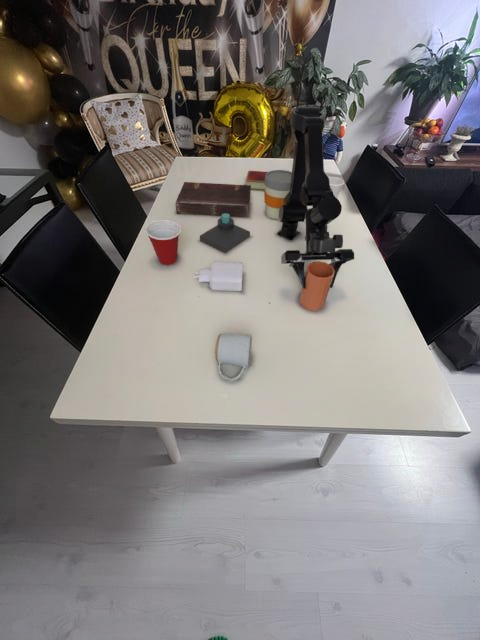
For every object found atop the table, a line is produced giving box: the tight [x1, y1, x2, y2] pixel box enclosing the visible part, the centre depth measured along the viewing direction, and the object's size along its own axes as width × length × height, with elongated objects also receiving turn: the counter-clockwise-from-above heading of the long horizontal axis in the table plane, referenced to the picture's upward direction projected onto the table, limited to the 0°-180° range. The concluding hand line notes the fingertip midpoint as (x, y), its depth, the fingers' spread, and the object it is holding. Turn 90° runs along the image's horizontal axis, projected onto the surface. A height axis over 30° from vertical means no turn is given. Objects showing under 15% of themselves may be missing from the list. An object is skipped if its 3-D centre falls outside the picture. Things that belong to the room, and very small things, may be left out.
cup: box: [298, 260, 335, 312], centre depth 83 cm, size 7×7×12 cm
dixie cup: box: [328, 176, 345, 199], centre depth 126 cm, size 8×8×10 cm
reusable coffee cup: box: [263, 169, 292, 220], centre depth 117 cm, size 13×13×15 cm
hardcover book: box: [245, 170, 268, 192], centre depth 139 cm, size 12×21×4 cm, turn 84°
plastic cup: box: [144, 219, 182, 266], centre depth 95 cm, size 11×11×12 cm
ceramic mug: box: [214, 332, 253, 382], centre depth 69 cm, size 11×8×8 cm
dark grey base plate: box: [199, 216, 251, 254], centre depth 108 cm, size 14×12×4 cm
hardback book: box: [175, 181, 252, 219], centre depth 124 cm, size 29×19×5 cm, turn 86°
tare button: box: [221, 213, 231, 223], centre depth 109 cm, size 3×3×2 cm
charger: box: [192, 261, 244, 292], centre depth 91 cm, size 5×9×15 cm
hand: (317, 288), depth 82 cm, fingers closed on cup, 7 cm apart
